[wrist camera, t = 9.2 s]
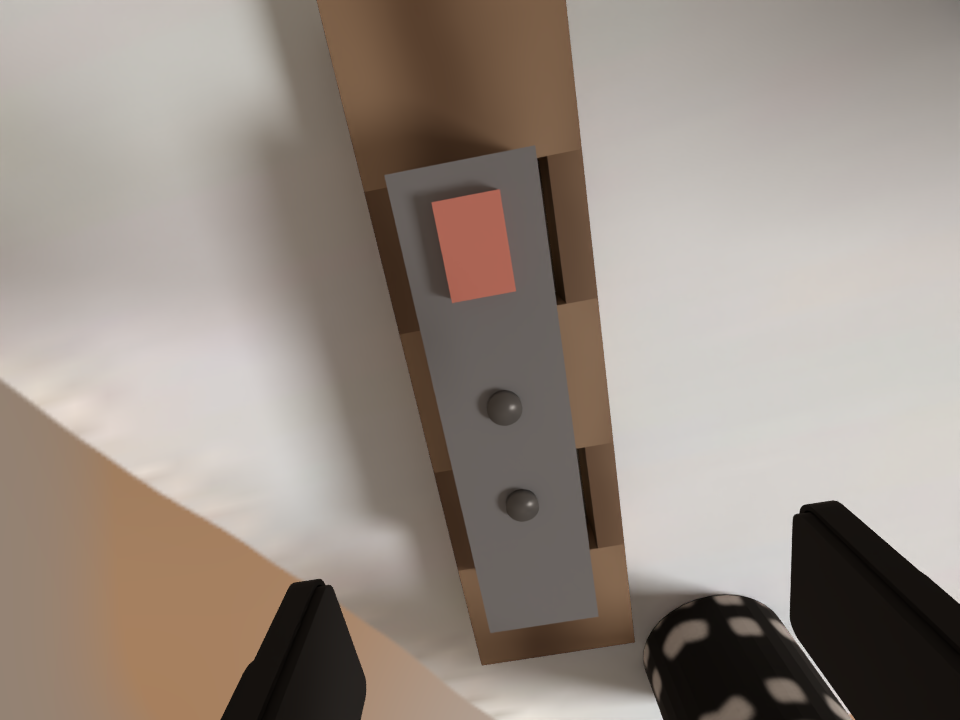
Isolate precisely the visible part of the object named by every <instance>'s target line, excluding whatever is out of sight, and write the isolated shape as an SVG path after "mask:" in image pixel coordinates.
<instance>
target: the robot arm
mask: <svg viewBox="0 0 960 720" xmlns="http://www.w3.org/2000/svg"><path fill="white" fill-rule="evenodd" d="M790 622H791V625H792V628H793V631H794V633H795V635H796V636H797V638H798V640H799V641H800V642H801V644H802V645H803V647H804V648H805V649H806V651H807V652H808V654H809V655H810V657H811V658H812V659H813V661H814V662H815V664H816V665H817V666H818V668H819V669H820V671H821V672H822V673H823V675H824V676H825V678H826V679H827V680H828V682H829V683H830V685H831V686H832V687H833V689H834V690H835V692H836V693H837V694H838V696H839V697H840V699H841V700H842V701H843V703H844V704H845V706H846V707H847V708H848V710H849V711H850V713H851V714H852V715H853V717H854V718H855V720H960V604H959V603H958V602H957V601H955V600H954V599H953V598H952V597H951V596H950V595H948V594H947V593H946V592H945V591H944V590H943V589H941V588H940V587H939V586H938V585H937V584H936V583H934V582H933V581H932V580H931V579H930V578H929V577H928V576H926V575H925V574H923V573H922V572H920V571H919V570H918V569H917V568H916V567H914V566H913V565H912V564H911V563H910V562H909V561H907V560H906V559H905V558H904V557H903V556H902V555H900V554H899V553H898V552H897V551H896V550H895V549H893V548H892V547H891V546H890V545H889V544H888V543H887V542H885V541H884V540H883V539H882V538H881V537H880V536H878V535H877V534H876V533H875V532H874V531H873V530H871V529H870V528H869V527H868V526H867V525H866V524H864V523H863V522H862V521H861V520H860V519H859V518H858V517H856V516H855V515H854V514H853V513H852V512H851V511H849V510H848V509H847V508H846V507H845V506H844V505H842V504H841V503H839V502H838V501H834V500H833V501H826V502H820V503H813V504H807V505H803V506H802V507H801V509H800V513H799V514H795V515H794V517H793V527H792V559H791V592H790ZM365 697H366V679H365V676H364V673H363V670H362V667H361V664H360V661H359V659H358V656H357V653H356V650H355V648H354V645H353V642H352V639H351V636H350V634H349V631H348V628H347V625H346V622H345V620H344V617H343V614H342V611H341V608H340V606H339V603H338V600H337V597H336V595H335V592H334V589H333V587H332V586H331V585H325V583H324V581H322V580H321V579H315V580H309V581H302V582H296V583H293V584H291V585H290V587H289V588H288V590H287V592H286V594H285V596H284V599H283V601H282V603H281V605H280V607H279V609H278V611H277V613H276V615H275V617H274V619H273V621H272V624H271V626H270V628H269V630H268V632H267V634H266V636H265V638H264V641H263V642H262V644H261V647H260V649H259V651H258V653H257V655H256V657H255V659H254V661H252V662H251V663H250V664H249V665H248V667H247V668H246V670H245V671H244V673H243V675H242V677H241V679H240V681H239V683H238V685H237V687H236V689H235V691H234V693H233V695H232V698H231V700H230V702H229V704H228V706H227V708H226V710H225V712H224V714H223V716H222V718H221V720H361V715H362V710H363V706H364V702H365Z"/></svg>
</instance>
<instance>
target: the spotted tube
mask: <svg viewBox="0 0 960 720" xmlns="http://www.w3.org/2000/svg"><path fill="white" fill-rule="evenodd" d="M643 662H644V666H645V670H646V673H647V676H648V679H649V681H650V684H651V687H652V690H653V693H654V695H655V698H656V701H657V704H658V706H659V709H660V712H661V715H662V717H663V720H852V719H851V718H850V716H849V715H848V713H847V712H846V711H845V709H844V708H843V706H842V705H841V704H840V702H839V701H838V699H837V698H836V697H835V695H834V694H833V693H832V691H831V690H830V688H829V687H828V686H827V684H826V683H825V681H824V680H823V679H822V677H821V676H820V674H819V673H818V672H817V670H816V669H815V668H814V666H813V665H812V663H811V662H810V661H809V659H808V658H807V656H806V655H805V654H804V652H803V651H802V649H801V648H800V647H799V645H798V644H797V643H796V641H795V640H794V638H793V637H792V636H791V634H790V633H789V631H788V630H787V629H786V627H785V626H784V625H783V623H782V622H781V620H780V619H779V618H778V617H777V615H776V614H775V613H774V612H773V611H772V610H771V609H770V608H768V607H767V606H766V605H764V604H762V603H760V602H758V601H756V600H753V599H750V598H746V597H742V596H732V595H721V596H711V597H706V598H702V599H698V600H695V601H693V602H690V603H688V604H685V605H683V606H681V607H679V608H678V609H676V610H674V611H672V612H671V613H670V614H668V615H667V616H666V617H665V618H664V619H662V620H661V621H660V622H659V623H658V625H657V626H656V627H655V628H654V629H653V630H652V632H651V634H650V636H649V638H648V639H647V642H646V645H645V649H644V660H643Z"/></svg>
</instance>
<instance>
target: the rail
mask: <svg viewBox="0 0 960 720" xmlns="http://www.w3.org/2000/svg"><path fill="white" fill-rule="evenodd" d="M317 4H318V8H319V12H320V16H321V20H322V24H323V28H324V32H325V36H326V40H327V44H328V48H329V52H330V56H331V60H332V64H333V68H334V72H335V76H336V80H337V84H338V88H339V92H340V96H341V100H342V104H343V108H344V112H345V116H346V121H347V125H348V129H349V133H350V137H351V141H352V145H353V149H354V153H355V157H356V161H357V165H358V169H359V173H360V177H361V181H362V185H363V189H364V193H365V197H366V201H367V205H368V209H369V213H370V217H371V221H372V225H373V229H374V233H375V237H376V241H377V245H378V249H379V253H380V257H381V261H382V265H383V269H384V274H385V278H386V282H387V286H388V290H389V294H390V298H391V302H392V306H393V310H394V314H395V318H396V322H397V326H398V330H399V334H400V338H401V342H402V346H403V350H404V354H405V358H406V362H407V366H408V370H409V374H410V378H411V382H412V386H413V390H414V394H415V398H416V402H417V406H418V410H419V414H420V418H421V422H422V427H423V431H424V435H425V439H426V443H427V447H428V451H429V455H430V459H431V463H432V467H433V471H434V475H435V479H436V483H437V487H438V491H439V495H440V499H441V503H442V507H443V511H444V515H445V519H446V523H447V527H448V531H449V535H450V539H451V543H452V547H453V551H454V555H455V559H456V563H457V567H458V571H459V576H460V580H461V584H462V588H463V592H464V596H465V600H466V604H467V608H468V612H469V616H470V620H471V624H472V628H473V632H474V636H475V640H476V644H477V648H478V652H479V656H480V660H481V664H482V665H489V664H495V663H502V662H508V661H515V660H522V659H528V658H535V657H541V656H548V655H555V654H561V653H568V652H574V651H581V650H588V649H594V648H601V647H607V646H614V645H620V644H627V643H634V642H635V639H634V630H633V621H632V612H631V602H630V593H629V584H628V574H627V565H626V556H625V547H624V537H623V528H622V519H621V509H620V500H619V491H618V481H617V472H616V463H615V454H614V444H613V435H612V426H611V416H610V407H609V398H608V389H607V379H606V370H605V361H604V351H603V342H602V333H601V324H600V314H599V305H598V296H597V286H596V277H595V268H594V258H593V249H592V240H591V231H590V221H589V212H588V203H587V193H586V184H585V175H584V166H583V156H582V147H581V138H580V128H579V119H578V110H577V100H576V91H575V82H574V73H573V63H572V54H571V45H570V35H569V26H568V17H567V8H566V0H317ZM534 145H535V147H536V155H537V160H538V162H539V170H540V177H541V184H542V192H543V199H544V207H545V214H546V221H547V229H548V236H549V244H550V251H551V258H552V266H553V273H554V280H555V288H556V292H555V296H556V303H557V311H558V318H559V326H560V333H561V340H562V348H563V355H564V363H565V370H566V378H567V385H568V393H569V400H570V407H571V415H572V422H573V430H574V437H575V445H576V449H577V450H578V458H579V465H580V473H581V480H582V487H583V495H584V502H585V509H586V516H585V519H586V526H587V534H588V541H589V549H590V556H591V564H592V571H593V578H594V586H595V593H596V601H597V608H598V616H599V617H592V618H586V619H579V620H573V621H566V622H560V623H553V624H547V625H540V626H534V627H527V628H521V629H514V630H508V631H501V632H495V633H490V630H489V625H488V621H487V617H486V612H485V608H484V604H483V599H482V595H481V591H480V586H479V582H478V578H477V573H476V569H475V565H474V560H473V556H472V552H471V547H470V543H469V539H468V535H467V530H466V526H465V522H464V517H463V513H462V509H461V504H460V500H459V496H458V491H457V487H456V483H455V478H454V474H453V470H452V465H451V461H450V457H449V453H448V448H447V444H446V440H445V435H444V431H443V427H442V422H441V418H440V414H439V409H438V405H437V401H436V396H435V392H434V388H433V383H432V379H431V375H430V371H429V366H428V362H427V358H426V353H425V349H424V345H423V340H422V336H421V332H420V327H419V323H418V319H417V314H416V310H415V306H414V301H413V297H412V293H411V289H410V284H409V280H408V276H407V271H406V267H405V263H404V258H403V254H402V250H401V245H400V241H399V237H398V232H397V228H396V224H395V219H394V215H393V211H392V206H391V202H390V198H389V194H388V189H387V185H386V181H385V176H384V175H387V174H392V173H397V172H402V171H407V170H412V169H417V168H422V167H427V166H433V165H438V164H443V163H448V162H453V161H458V160H463V159H468V158H473V157H478V156H483V155H488V154H493V153H498V152H503V151H508V150H514V149H519V148H524V147H529V146H534Z"/></svg>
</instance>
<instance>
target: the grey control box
mask: <svg viewBox="0 0 960 720" xmlns="http://www.w3.org/2000/svg"><path fill="white" fill-rule="evenodd" d="M384 176H385V181H386V185H387V189H388V194H389V198H390V202H391V206H392V211H393V215H394V219H395V224H396V228H397V232H398V237H399V241H400V245H401V250H402V254H403V258H404V263H405V267H406V271H407V276H408V280H409V284H410V289H411V293H412V297H413V301H414V306H415V310H416V314H417V319H418V323H419V327H420V332H421V336H422V340H423V345H424V349H425V353H426V358H427V362H428V366H429V371H430V375H431V379H432V383H433V388H434V392H435V396H436V401H437V405H438V409H439V414H440V418H441V422H442V427H443V431H444V435H445V440H446V444H447V448H448V453H449V457H450V461H451V465H452V470H453V474H454V478H455V483H456V487H457V491H458V496H459V500H460V504H461V509H462V513H463V517H464V522H465V526H466V530H467V535H468V539H469V543H470V547H471V552H472V556H473V560H474V565H475V569H476V573H477V578H478V582H479V586H480V591H481V595H482V599H483V604H484V608H485V612H486V617H487V621H488V625H489V630H490V633H495V632H501V631H508V630H514V629H521V628H527V627H534V626H540V625H547V624H553V623H560V622H566V621H573V620H579V619H586V618H592V617H599V616H598V608H597V601H596V593H595V586H594V578H593V571H592V564H591V556H590V549H589V541H588V534H587V526H586V519H585V512H584V504H583V497H582V489H581V482H580V474H579V467H578V459H577V452H576V445H575V437H574V430H573V422H572V415H571V407H570V400H569V393H568V385H567V378H566V370H565V363H564V355H563V348H562V340H561V333H560V326H559V318H558V311H557V303H556V296H555V288H554V281H553V274H552V266H551V259H550V251H549V244H548V236H547V229H546V221H545V214H544V207H543V199H542V192H541V184H540V177H539V169H538V162H537V155H536V147H535V145H534V146H529V147H524V148H519V149H514V150H508V151H503V152H498V153H493V154H488V155H483V156H478V157H473V158H468V159H463V160H458V161H453V162H448V163H443V164H438V165H433V166H427V167H422V168H417V169H412V170H407V171H402V172H397V173H392V174H387V175H384Z"/></svg>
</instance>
